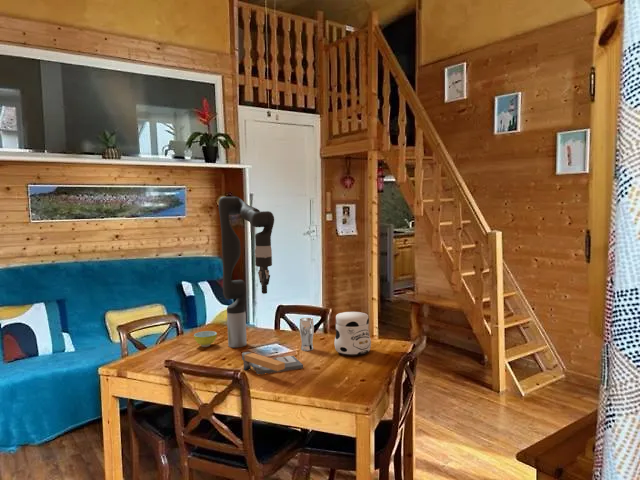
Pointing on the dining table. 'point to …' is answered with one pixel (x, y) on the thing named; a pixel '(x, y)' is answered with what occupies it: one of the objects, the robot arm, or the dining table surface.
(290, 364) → the label board
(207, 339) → the bowl
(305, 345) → the beer glass
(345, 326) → the milk container
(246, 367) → the post
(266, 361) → the swing bar
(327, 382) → the dining table surface
